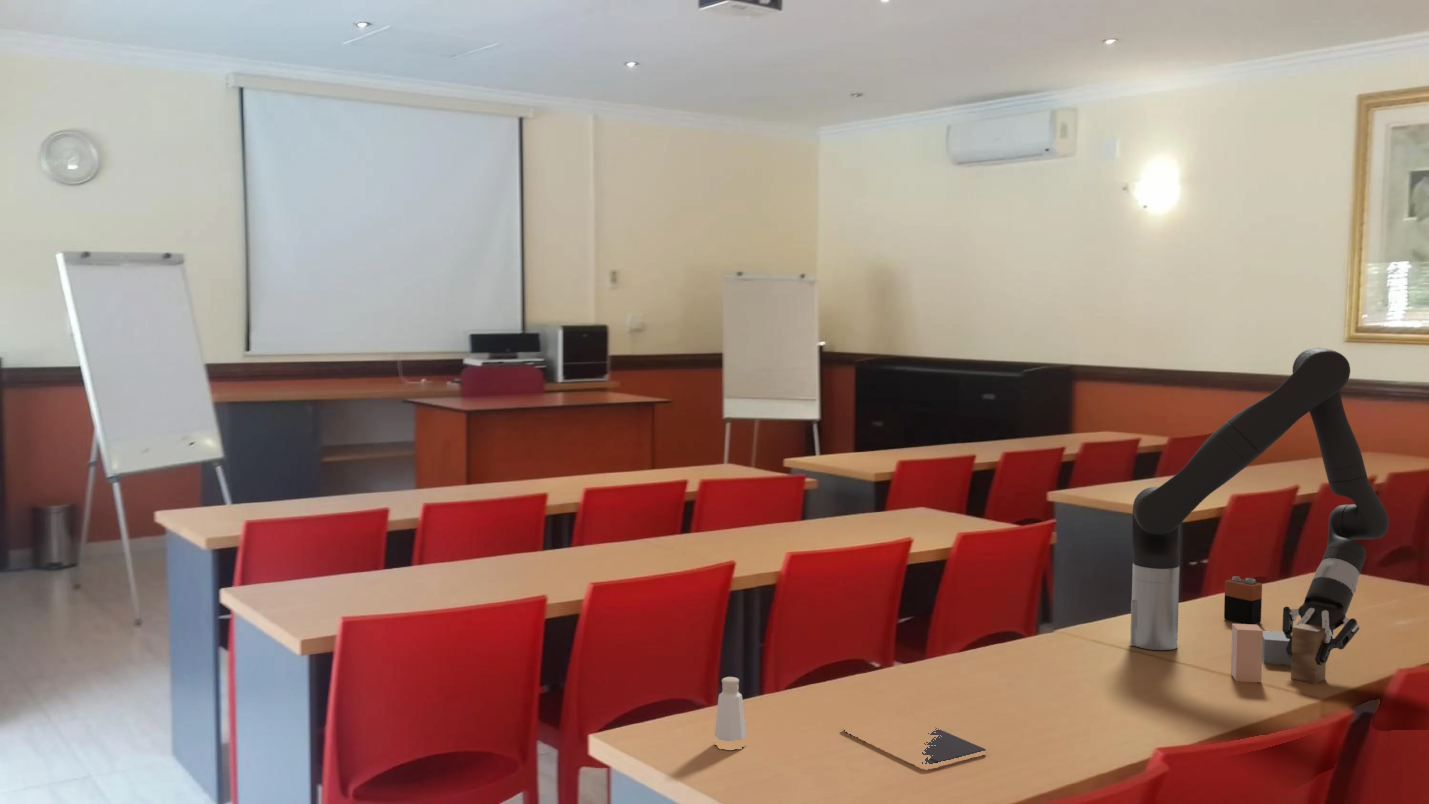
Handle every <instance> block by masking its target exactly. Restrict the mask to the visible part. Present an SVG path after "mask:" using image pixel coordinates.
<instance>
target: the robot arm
mask: <svg viewBox="0 0 1429 804" xmlns="http://www.w3.org/2000/svg"><path fill="white" fill-rule="evenodd" d="M1350 376H1351V365H1350V362H1349V361H1348V359H1347V358H1346V356H1344V355H1343V354H1342V353H1340V352H1338V351H1335V350H1333V349H1330V348H1324V347H1312V348H1311V347H1310V348H1308V349H1305V350H1303V351H1302V352H1300V353H1299V354H1298V355H1297V357H1295V359H1294V362H1293V365H1292V373H1291V375H1290V376H1289V377H1287V379H1286V380H1285V381H1284V382H1283V383H1282V384H1281V385H1280V386H1279V387H1277V388H1276V389H1275V390H1273V391H1272V392H1270V394H1268V395H1266V396H1265V397H1263V398H1261V399H1259V400H1258V401H1256V402H1254V403H1252V404H1250V405H1248V406H1247V407H1245V408H1244V409H1242V410H1240V411H1239V412H1237V413H1236V414H1234V415H1233V416H1232V417H1230V418H1229V419H1228V420H1226V421H1225V422H1224V423H1223V424H1222V425H1221V426H1220V427H1218V429H1216V430H1215V431H1214V432H1213V433H1212V434H1211V435H1209V436H1208V438H1207V439H1206V440H1205V441H1204V442H1203V443H1202V445H1200V446H1199V448H1198V449H1197V451H1196V452H1195V453H1194V454H1193V456H1192V457H1191V458H1190V459H1189V460H1188V462H1187V464H1185V466H1184V467H1182V469H1180V471H1179V472H1177V473H1176V474H1175V475H1174V476H1172V477H1171V478H1169V479H1168V480H1167V481H1166V482H1164V483H1163V484H1162V485H1159V486H1151V487H1147V488H1144V489H1143V490H1141V491H1140V492H1139V493H1138V494H1137V495H1136V497H1135V499H1134V500H1133V504H1132V519H1131V520H1132V521H1131V522H1132V529H1131V531H1132V532H1131V533H1132V534H1131V535H1132V538H1131V539H1132V544H1131V545H1132V548H1131V549H1132V580H1131V584H1132V586H1131V587H1132V588H1131V602H1130V643H1129V644H1130V646H1132V647H1137V648H1140V649H1145V650H1151V651H1152V650H1153V651H1170V650H1171V651H1172V650H1175V649H1177V648H1178V642H1179V606H1180V605H1179V603H1180V601H1179V600H1180V598H1179V597H1180V560H1181V557H1180V545H1179V537H1180V536H1179V535H1180V534H1179V533H1180V532H1179V530H1180V529H1179V528H1180V525H1181V524H1182V523H1183V521H1185V519H1186V518H1187V517H1189V515H1190V514H1191V513H1192V512H1193V511H1194V510H1195V509H1196V508H1197V507H1198V506H1199V505H1200V504H1201V503H1202V502H1203V501H1204V500H1205V499H1206V498H1207V497H1208V496H1210V495H1211V494H1213V492H1215V491H1217V490H1218V489H1219V488H1220V487H1222V486H1224V485H1225V484H1226V483H1227V482H1229V481H1230V480H1231V479H1233V478H1234V477H1235V476H1236V475H1239V473H1241V471H1243V470H1244V469H1245V468H1247V467H1248V466H1249V465H1250V464H1252V463H1253V462H1254V461H1255V460H1257V458H1259V457H1260V456H1261V455H1262V454H1263V453H1264V452H1266V451H1267V449H1268V448H1270V447H1271V446H1272V445H1274V443H1275V442H1277V441H1278V440H1279V439H1280V438H1281V437H1282V436H1283V435H1285V433H1286V432H1287V431H1288V430H1290V428H1291V427H1292V426H1293V425H1294V424H1295V423H1297V421H1299V420H1300V419H1302V417H1303V416H1304V417H1305V415H1307V414H1308V413H1309V415H1310V418H1311V420H1312V423H1313V427H1314V430H1315V434H1316V438H1317V442H1318V445H1319V449H1320V453H1321V458H1322V462H1323V467H1324V469H1325V474H1326V477H1327V481H1328V486H1329V489H1330V491H1331V492H1332V494H1334V495H1337V496H1340V497H1345V498H1348V499H1350V500H1351V501H1352V502H1353V503H1354V504H1353V503H1352V504H1342V505H1341V504H1339V505H1338V506H1336V507H1335V508H1334V509H1333V510H1331V512H1330V514H1329V517H1328V532H1327V533H1328V534H1327V545H1326V550H1325V551H1324V554H1323V557H1322V559H1321V562H1320V563H1319V565H1318V567H1317V568H1316V571H1315V573H1314V575H1313V578H1312V580H1311V582H1310V585H1309V588H1308V590H1307V592H1306V595H1305V597H1304V601H1303V603H1302V605H1300V606H1299V608H1290V607H1289V606H1284V607H1283V608H1282V629H1281V630H1282V632H1284V634H1285V636H1286V638H1287V639H1290V640H1289V643H1288V645H1287V648H1286V652H1287V654H1288V656H1289V658H1290V659H1291V656H1292V627H1294V622H1295V621H1296V620H1297V618H1298V617H1299V616H1300V619H1299V620H1298V622H1297V623H1296V625H1299V624H1310V625H1316V626H1321V627H1322V628H1325V634H1324V637H1323V643H1321V645H1320V648H1319V650H1318V653H1317V655H1316V657H1315V661H1316V662H1317V664H1318V665H1322V664H1323V663H1326V662H1327V661H1328V659H1329V657H1330V653H1331V651H1333V649H1338V650H1344V648H1346V646H1347V645H1348V644H1349V642H1350V641H1352V639H1353V638H1354V637H1355V635H1356V634H1357V633H1358V631H1359V630H1360V627H1359V624H1358V622H1357V620H1356V618H1348V617H1346V614H1347V612H1348V611H1349V608H1350V605H1351V602H1352V600H1353V597H1354V595H1355V594H1356V591H1357V587H1358V582H1359V578H1360V574H1361V572H1362V570H1363V566H1364V564H1365V562H1366V558H1367V551H1366V548H1365V547H1364V546H1363V545H1362V544H1361V543H1359V542H1358V541H1356V540H1377V539H1381V538H1383V537H1384V536H1385V535H1386V533H1387V532H1388V530H1389V526H1390V525H1389V523H1390V521H1389V515H1388V513H1387V510H1386V508H1385V506H1384V505H1383V503H1382V502H1381V500H1380V497H1378V494H1377V493H1376V492H1375V490H1374V488H1373V486H1372V485H1371V483H1370V481H1369V478H1368V475H1367V470H1366V466H1365V463H1364V462H1365V461H1364V458H1363V455H1362V452H1361V448H1360V446H1359V443H1358V441H1357V439H1356V436H1355V434H1354V432H1353V430H1352V428H1351V425H1350V423H1349V420H1348V418H1347V414H1346V412H1345V411H1346V410H1345V408H1344V405H1343V401H1342V395H1341V394H1342V393H1341V390H1342V389H1343V388H1344V387H1345V386H1346V385H1347V383H1348V381H1349V378H1350ZM1341 626H1343V627H1342V629H1341V630H1340V631H1339V632H1338V634H1337V635H1336V636H1335V631H1334V630H1337V629H1338V628H1339V627H1341ZM1326 664H1327V663H1326Z"/></svg>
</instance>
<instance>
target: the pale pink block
mask: <svg viewBox="0 0 1429 804" xmlns="http://www.w3.org/2000/svg"><path fill="white" fill-rule="evenodd" d="M1263 631H1264V630H1263V629H1262V628H1261V627H1260V626H1259V625H1258V624H1242V623H1232V624H1231V647H1230V648H1231V653H1230V655H1231V656H1230V675H1231V677H1232V676H1233V677H1232V678H1233V679H1234V681H1235V682H1239V681H1240V683H1242V682H1245V683H1257V682H1261V683H1262V676H1263V675H1262V668H1263V660H1262V643H1263Z"/></svg>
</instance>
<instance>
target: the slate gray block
mask: <svg viewBox="0 0 1429 804" xmlns="http://www.w3.org/2000/svg"><path fill="white" fill-rule="evenodd" d="M1289 640H1290V639H1287V638H1286V636H1285V634H1284V632H1283V631H1272V630H1263V643H1262V659H1263V660H1262V663H1263V664H1268V663H1276V664H1275V665H1281V664H1286V665H1285V666H1291V659H1290V658H1289V656H1288V654H1287V652H1286V648H1287V645H1288V643H1289Z"/></svg>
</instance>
